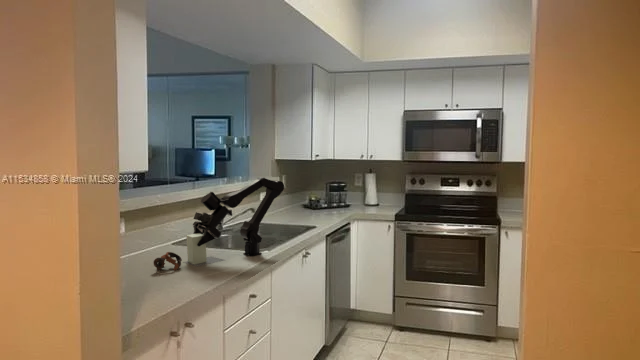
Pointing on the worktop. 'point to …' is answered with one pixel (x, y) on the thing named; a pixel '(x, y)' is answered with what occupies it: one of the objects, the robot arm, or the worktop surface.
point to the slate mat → (209, 261)
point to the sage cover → (195, 249)
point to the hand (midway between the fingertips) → (194, 244)
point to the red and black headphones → (160, 261)
